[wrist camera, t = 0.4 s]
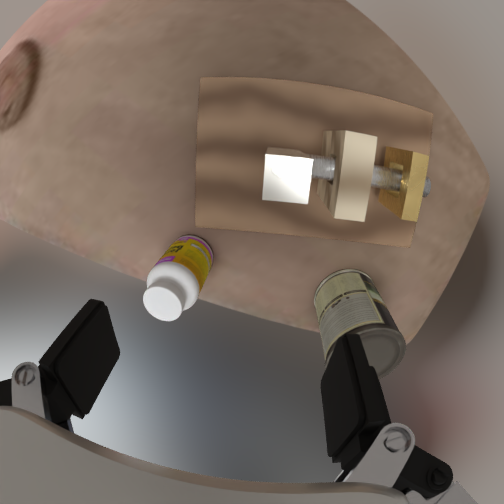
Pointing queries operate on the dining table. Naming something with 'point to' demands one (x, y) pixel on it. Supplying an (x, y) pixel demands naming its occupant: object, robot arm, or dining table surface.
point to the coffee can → (358, 319)
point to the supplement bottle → (178, 278)
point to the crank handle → (313, 175)
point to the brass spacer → (405, 183)
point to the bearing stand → (308, 142)
